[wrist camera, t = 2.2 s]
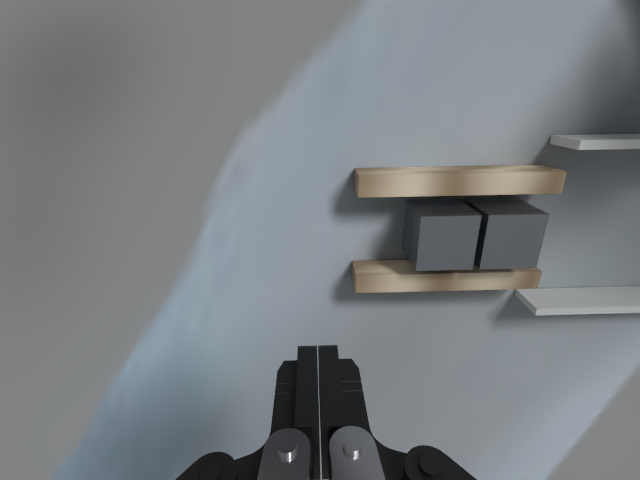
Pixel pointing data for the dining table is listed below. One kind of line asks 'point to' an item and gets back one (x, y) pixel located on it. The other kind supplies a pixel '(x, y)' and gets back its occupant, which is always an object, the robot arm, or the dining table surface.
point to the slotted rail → (449, 183)
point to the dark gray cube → (508, 233)
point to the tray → (585, 297)
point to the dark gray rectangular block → (440, 234)
